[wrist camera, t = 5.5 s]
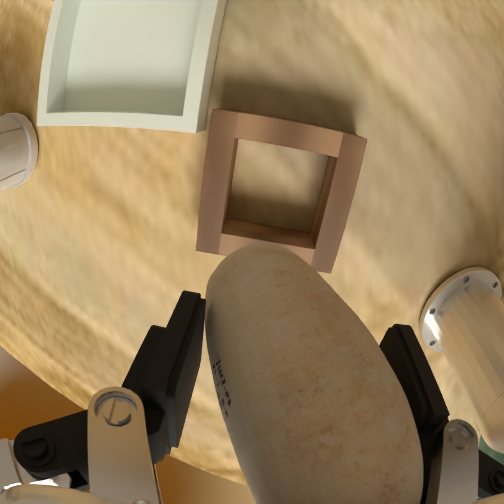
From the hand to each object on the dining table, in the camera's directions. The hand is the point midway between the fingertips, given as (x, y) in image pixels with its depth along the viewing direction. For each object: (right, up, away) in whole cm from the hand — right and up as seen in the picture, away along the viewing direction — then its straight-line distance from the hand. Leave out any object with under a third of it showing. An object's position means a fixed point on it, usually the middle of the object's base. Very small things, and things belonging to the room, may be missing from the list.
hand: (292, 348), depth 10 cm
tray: (-12, +22, +12) cm, 28 cm away
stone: (0, +2, +5) cm, 5 cm away
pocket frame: (+1, +9, +18) cm, 20 cm away
